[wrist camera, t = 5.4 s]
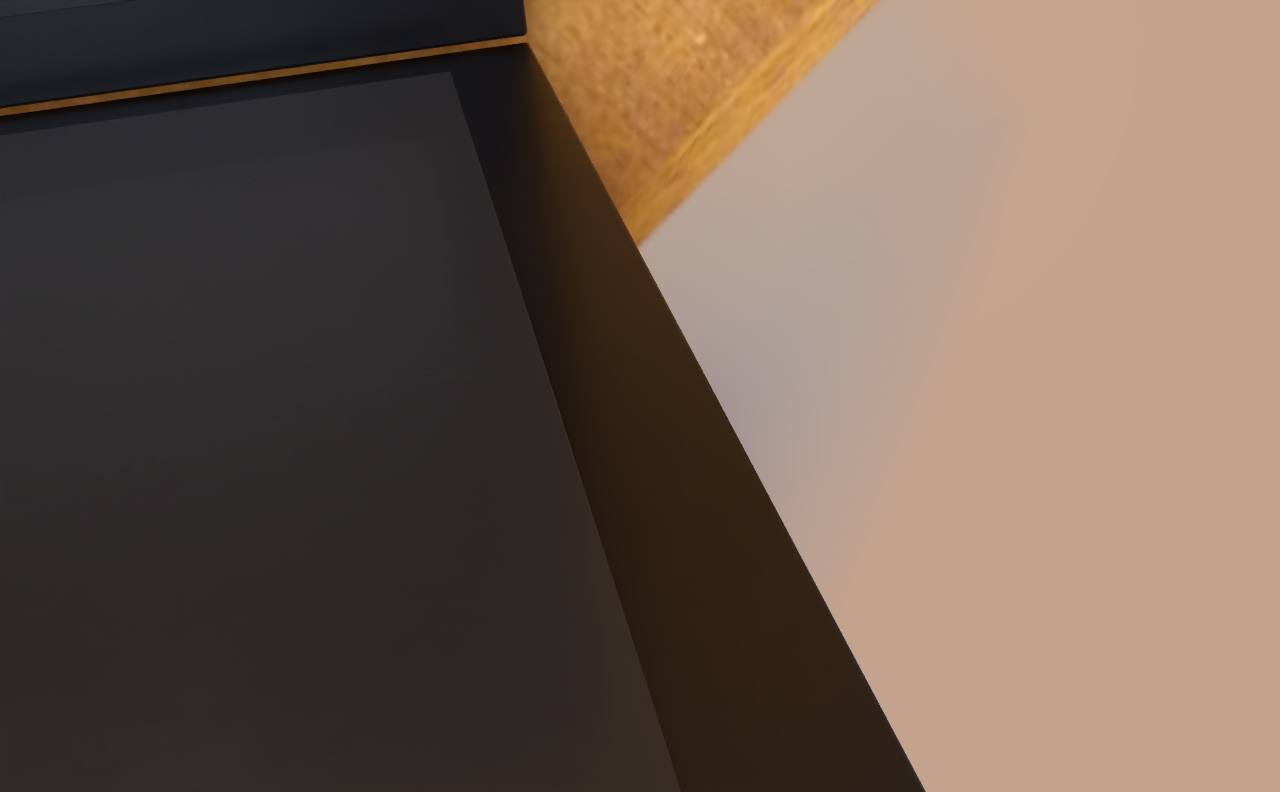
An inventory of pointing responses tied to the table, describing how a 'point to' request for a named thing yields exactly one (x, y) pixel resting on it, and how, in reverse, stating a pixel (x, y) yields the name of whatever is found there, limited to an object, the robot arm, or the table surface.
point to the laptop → (218, 39)
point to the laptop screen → (379, 465)
